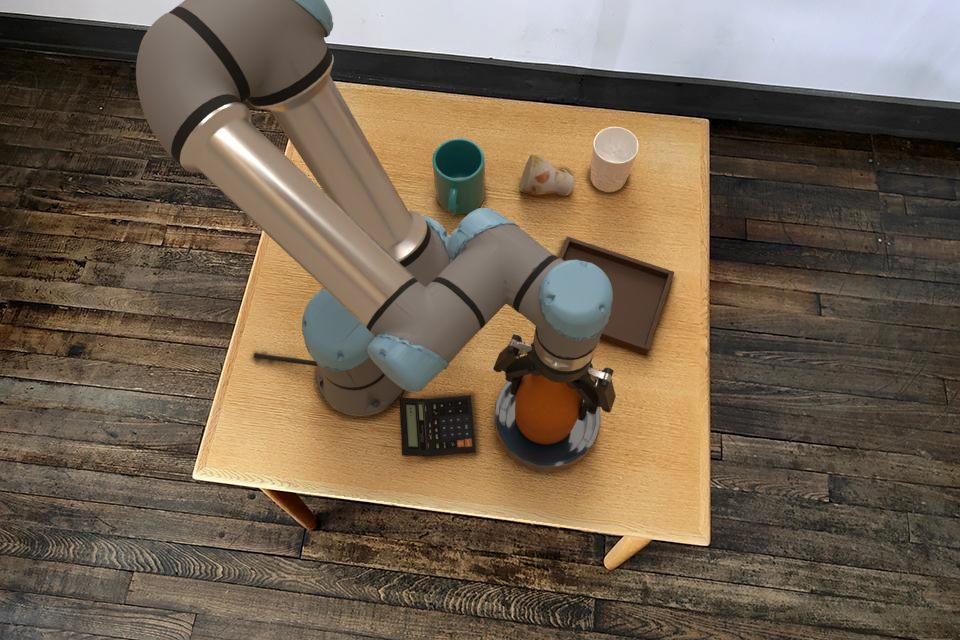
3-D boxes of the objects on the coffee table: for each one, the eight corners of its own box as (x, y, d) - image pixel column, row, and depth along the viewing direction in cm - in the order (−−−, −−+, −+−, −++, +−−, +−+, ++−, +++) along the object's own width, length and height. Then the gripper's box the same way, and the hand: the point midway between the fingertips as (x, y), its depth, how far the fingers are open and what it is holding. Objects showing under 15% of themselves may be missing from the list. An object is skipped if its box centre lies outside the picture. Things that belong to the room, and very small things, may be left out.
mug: (575, 208, 139) (552, 186, 130) (529, 206, 144) (504, 185, 136) (584, 170, 140) (561, 146, 131) (538, 169, 145) (514, 146, 137)
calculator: (476, 452, 120) (475, 447, 118) (403, 459, 120) (401, 454, 117) (471, 396, 124) (470, 390, 121) (400, 402, 124) (398, 397, 121)
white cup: (602, 202, 139) (610, 170, 130) (578, 171, 142) (585, 138, 132) (637, 183, 140) (647, 151, 131) (613, 153, 143) (622, 119, 134)
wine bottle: (576, 390, 122) (603, 316, 94) (573, 450, 118) (601, 391, 90) (516, 385, 122) (525, 309, 94) (511, 444, 118) (519, 384, 91)
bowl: (479, 451, 120) (479, 443, 116) (515, 361, 126) (516, 350, 122) (577, 489, 118) (580, 482, 113) (609, 395, 124) (613, 386, 119)
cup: (428, 225, 137) (423, 191, 127) (441, 171, 142) (438, 134, 132) (477, 233, 136) (476, 199, 126) (488, 178, 141) (488, 141, 131)
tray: (536, 317, 130) (537, 310, 127) (565, 243, 135) (567, 235, 133) (645, 355, 127) (648, 349, 124) (671, 278, 132) (674, 271, 130)
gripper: (466, 339, 91) (469, 395, 111) (644, 404, 88) (614, 450, 108) (489, 287, 94) (487, 351, 114) (662, 348, 90) (629, 403, 111)
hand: (549, 399), depth 111 cm, fingers closed on wine bottle, 10 cm apart
